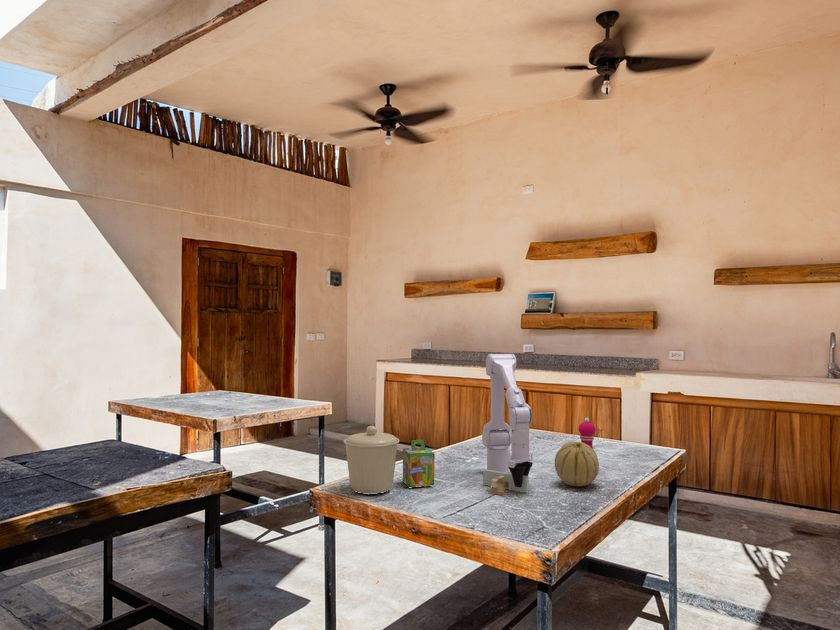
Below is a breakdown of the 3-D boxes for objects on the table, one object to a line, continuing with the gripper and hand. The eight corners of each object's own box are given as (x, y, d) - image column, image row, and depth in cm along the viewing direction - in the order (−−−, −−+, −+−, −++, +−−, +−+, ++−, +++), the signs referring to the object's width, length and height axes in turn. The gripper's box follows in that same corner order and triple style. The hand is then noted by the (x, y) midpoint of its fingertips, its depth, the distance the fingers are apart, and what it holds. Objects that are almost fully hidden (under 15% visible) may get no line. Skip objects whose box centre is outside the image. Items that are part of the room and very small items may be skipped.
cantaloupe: (581, 478, 202) (581, 435, 202) (609, 489, 188) (608, 443, 188) (545, 482, 196) (545, 438, 197) (571, 493, 183) (571, 446, 183)
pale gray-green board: (485, 483, 194) (485, 469, 194) (528, 491, 185) (528, 476, 185) (482, 485, 193) (482, 470, 193) (526, 493, 183) (526, 477, 183)
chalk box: (408, 489, 188) (408, 444, 188) (401, 482, 196) (401, 438, 197) (435, 487, 190) (435, 442, 190) (427, 480, 199) (427, 437, 199)
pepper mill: (598, 475, 205) (598, 419, 205) (577, 474, 207) (577, 419, 207) (596, 470, 212) (596, 416, 213) (576, 469, 214) (575, 415, 214)
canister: (399, 483, 195) (399, 421, 195) (399, 499, 177) (399, 430, 177) (346, 483, 194) (346, 421, 195) (340, 499, 176) (340, 431, 177)
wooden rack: (507, 481, 197) (507, 468, 197) (523, 484, 193) (523, 471, 194) (485, 492, 184) (485, 478, 184) (502, 495, 180) (502, 481, 181)
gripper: (522, 448, 178) (522, 492, 177) (540, 441, 189) (541, 482, 189) (501, 446, 182) (501, 489, 181) (521, 438, 193) (521, 479, 193)
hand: (520, 485), depth 186 cm, fingers open, 3 cm apart
